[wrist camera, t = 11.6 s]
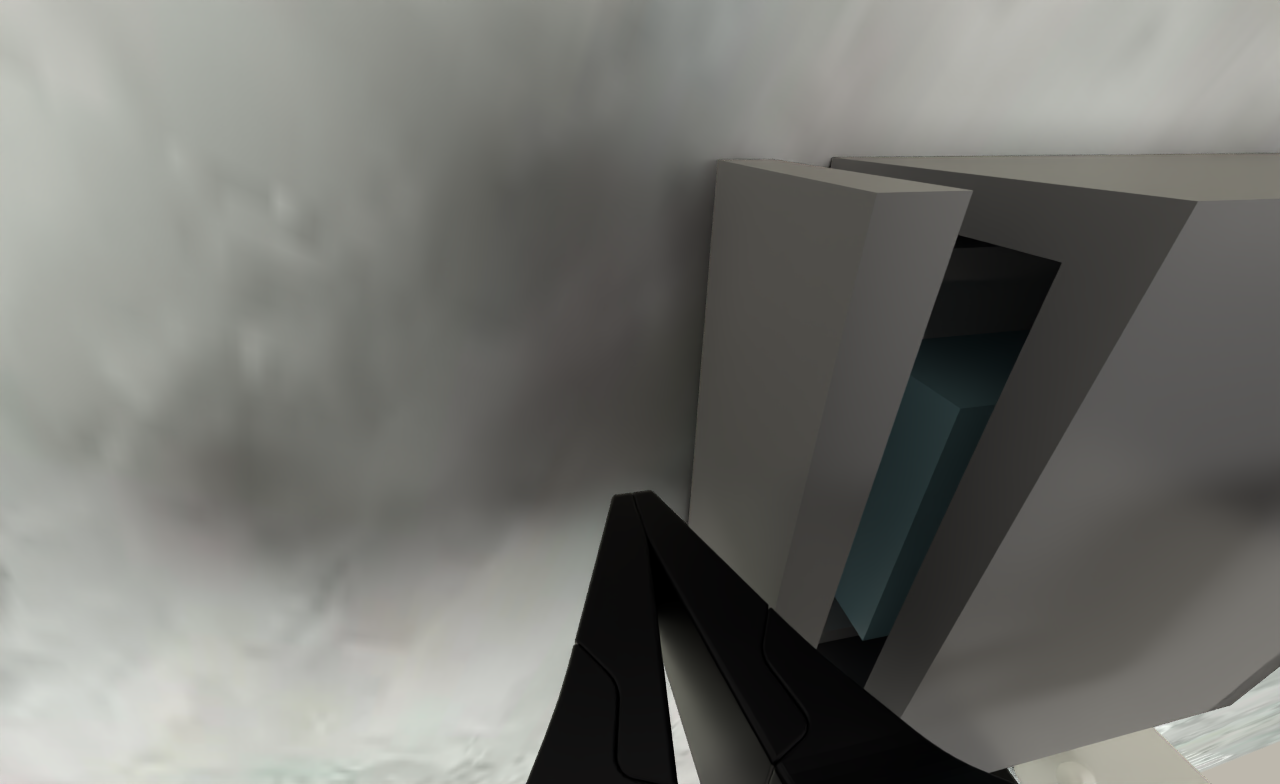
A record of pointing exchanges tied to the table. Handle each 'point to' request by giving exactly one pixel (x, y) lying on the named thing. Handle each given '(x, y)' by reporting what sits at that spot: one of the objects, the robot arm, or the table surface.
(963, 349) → the block
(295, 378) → the table surface
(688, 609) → the robot arm
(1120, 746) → the cup
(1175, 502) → the grey drawer box
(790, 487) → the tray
